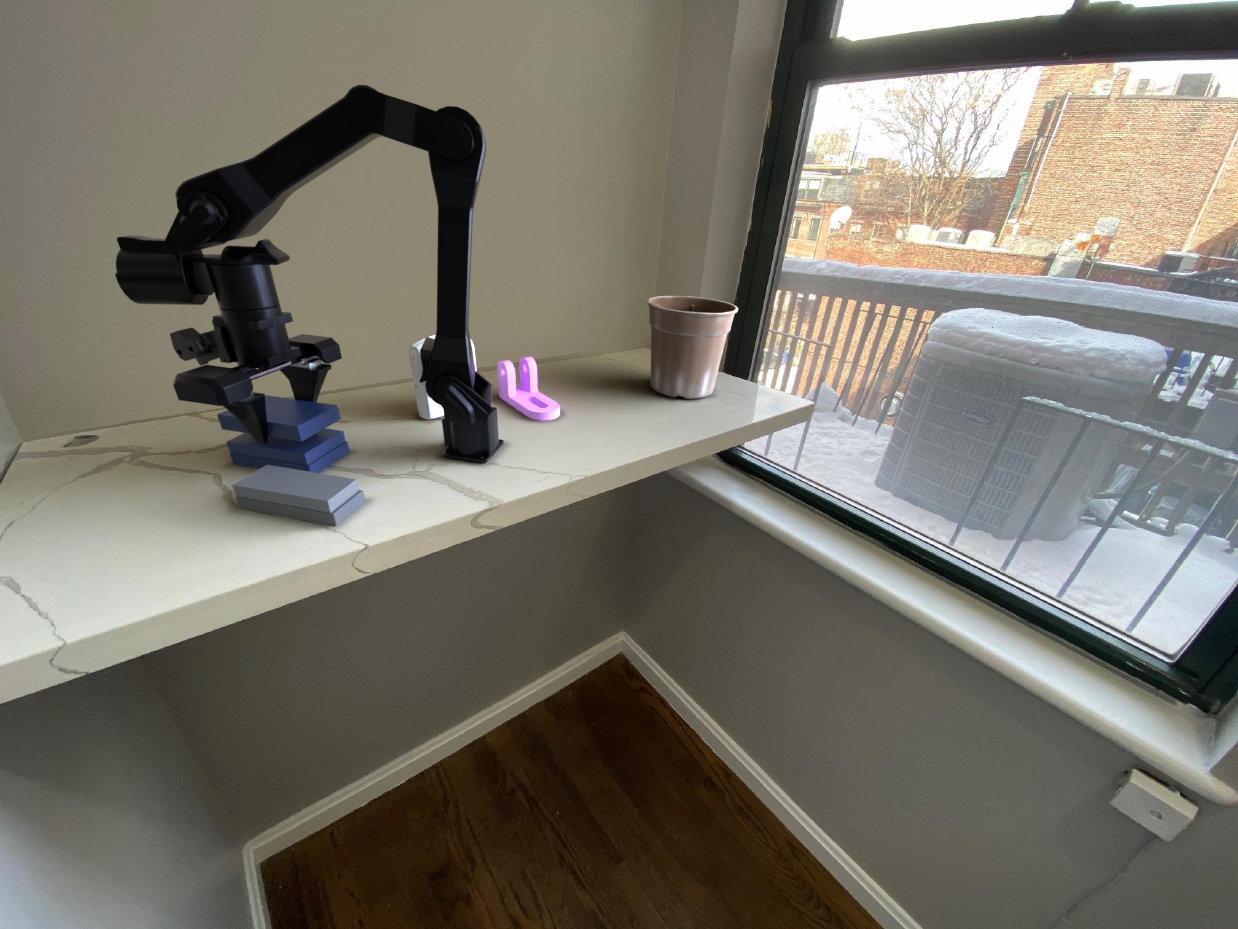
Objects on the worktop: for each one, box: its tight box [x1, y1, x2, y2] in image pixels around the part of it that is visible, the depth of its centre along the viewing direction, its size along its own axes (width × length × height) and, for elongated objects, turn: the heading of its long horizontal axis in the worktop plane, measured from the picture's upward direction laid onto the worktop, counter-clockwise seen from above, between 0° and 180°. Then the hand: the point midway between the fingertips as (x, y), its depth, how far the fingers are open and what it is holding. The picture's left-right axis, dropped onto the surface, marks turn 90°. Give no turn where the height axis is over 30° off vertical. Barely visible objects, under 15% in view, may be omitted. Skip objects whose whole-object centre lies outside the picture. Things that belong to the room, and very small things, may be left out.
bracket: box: [497, 356, 561, 422], centre depth 85 cm, size 13×6×7 cm, turn 38°
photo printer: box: [408, 334, 478, 420], centre depth 80 cm, size 10×4×12 cm, turn 140°
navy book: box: [216, 394, 342, 441], centre depth 64 cm, size 11×7×2 cm, turn 79°
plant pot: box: [646, 295, 739, 400], centre depth 95 cm, size 16×16×16 cm
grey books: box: [231, 465, 366, 526], centre depth 57 cm, size 12×5×3 cm, turn 79°
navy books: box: [226, 427, 351, 473], centre depth 66 cm, size 11×7×3 cm, turn 79°
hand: (285, 431), depth 65 cm, fingers closed on navy book, 7 cm apart
